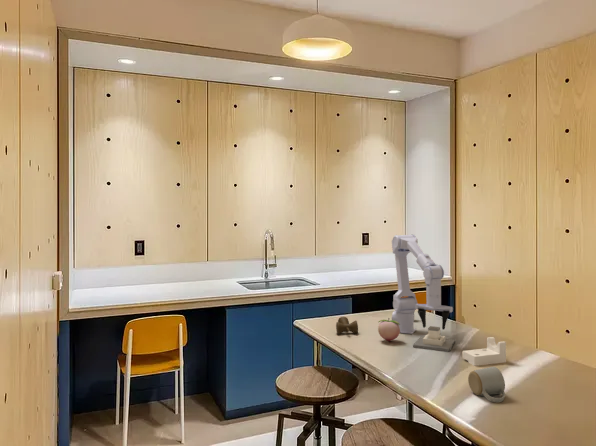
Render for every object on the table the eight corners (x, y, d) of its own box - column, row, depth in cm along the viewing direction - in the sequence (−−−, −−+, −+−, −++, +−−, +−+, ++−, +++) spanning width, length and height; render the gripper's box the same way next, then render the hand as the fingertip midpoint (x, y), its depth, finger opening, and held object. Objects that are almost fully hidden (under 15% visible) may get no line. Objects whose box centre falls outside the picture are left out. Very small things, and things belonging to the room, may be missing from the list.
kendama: (353, 327, 223) (360, 337, 203) (333, 328, 222) (338, 338, 202) (352, 314, 223) (359, 323, 203) (332, 315, 222) (337, 324, 202)
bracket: (493, 357, 173) (492, 337, 173) (506, 363, 166) (505, 342, 166) (462, 360, 170) (462, 340, 170) (474, 366, 163) (474, 345, 163)
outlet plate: (412, 347, 186) (412, 339, 186) (420, 338, 199) (420, 331, 199) (448, 351, 180) (448, 344, 180) (454, 342, 192) (454, 335, 192)
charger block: (428, 342, 189) (428, 328, 188) (430, 340, 192) (430, 326, 192) (438, 344, 187) (438, 329, 186) (440, 341, 190) (440, 327, 190)
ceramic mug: (466, 390, 141) (466, 365, 141) (490, 387, 143) (490, 363, 143) (487, 405, 131) (487, 378, 131) (512, 402, 133) (513, 375, 132)
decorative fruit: (376, 343, 192) (376, 319, 192) (378, 338, 200) (378, 315, 200) (400, 345, 190) (399, 320, 189) (401, 339, 198) (400, 316, 197)
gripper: (413, 295, 188) (413, 328, 189) (450, 298, 182) (450, 332, 182) (417, 292, 195) (417, 324, 195) (453, 294, 188) (453, 328, 188)
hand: (433, 328), depth 189 cm, fingers open, 7 cm apart
